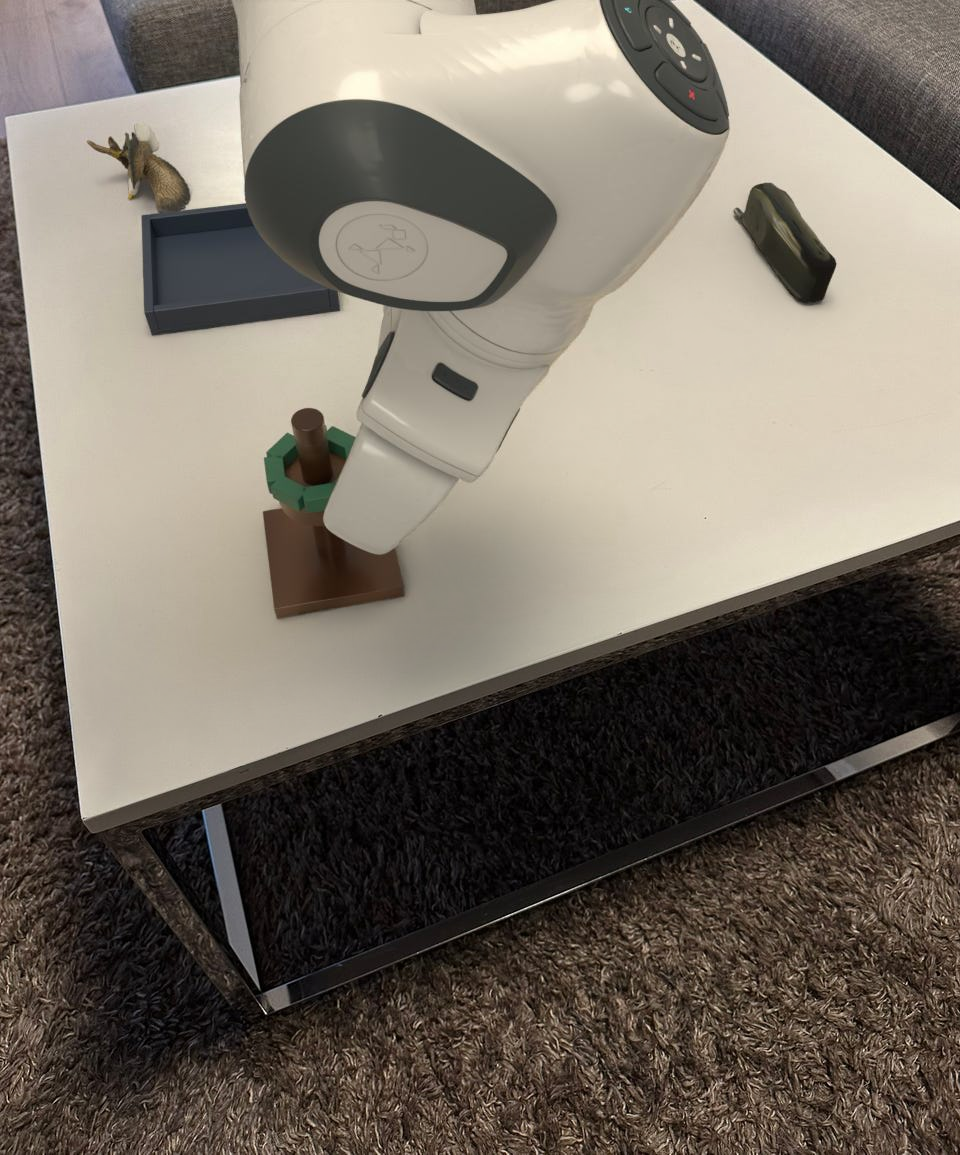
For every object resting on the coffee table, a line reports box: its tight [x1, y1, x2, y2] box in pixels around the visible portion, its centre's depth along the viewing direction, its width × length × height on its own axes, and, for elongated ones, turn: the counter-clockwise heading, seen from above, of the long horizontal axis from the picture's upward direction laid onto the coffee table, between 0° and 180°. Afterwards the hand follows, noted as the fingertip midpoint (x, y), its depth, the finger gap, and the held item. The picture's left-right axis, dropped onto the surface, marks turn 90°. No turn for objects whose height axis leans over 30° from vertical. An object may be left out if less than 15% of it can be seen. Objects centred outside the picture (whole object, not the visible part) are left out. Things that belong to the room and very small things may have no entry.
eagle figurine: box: [86, 122, 191, 213], centre depth 94 cm, size 8×7×9 cm
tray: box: [141, 202, 341, 336], centre depth 88 cm, size 17×15×2 cm
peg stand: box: [262, 407, 405, 619], centre depth 64 cm, size 9×9×14 cm
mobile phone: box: [732, 182, 837, 304], centre depth 90 cm, size 5×3×15 cm
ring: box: [263, 424, 356, 513], centre depth 62 cm, size 6×6×1 cm
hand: (376, 451), depth 58 cm, fingers open, 8 cm apart
